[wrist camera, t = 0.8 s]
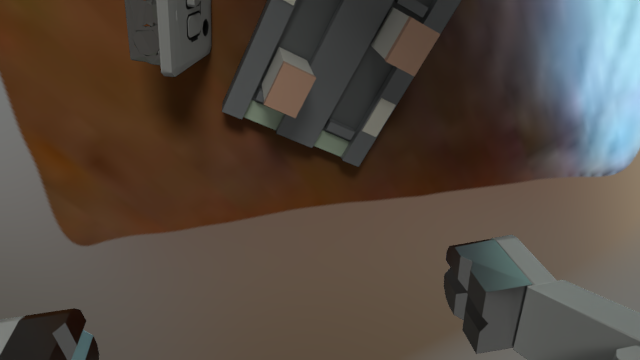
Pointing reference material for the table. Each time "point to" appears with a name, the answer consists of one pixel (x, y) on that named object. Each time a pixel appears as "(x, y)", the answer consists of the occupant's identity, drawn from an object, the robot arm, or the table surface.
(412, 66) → the tab
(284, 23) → the switch bank
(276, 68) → the tab
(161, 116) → the table surface
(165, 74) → the electrical switch
